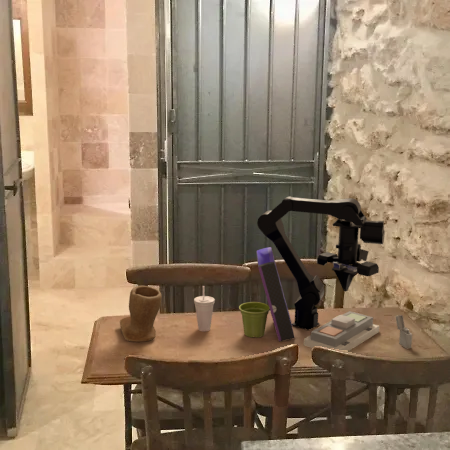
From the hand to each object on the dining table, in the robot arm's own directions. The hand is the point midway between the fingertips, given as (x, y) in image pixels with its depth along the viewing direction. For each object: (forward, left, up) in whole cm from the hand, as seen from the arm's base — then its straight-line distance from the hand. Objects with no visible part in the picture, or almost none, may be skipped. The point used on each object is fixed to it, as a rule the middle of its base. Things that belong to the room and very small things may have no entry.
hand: (345, 290), depth 201 cm
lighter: (+18, +3, -13) cm, 22 cm away
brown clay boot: (-45, -43, -13) cm, 63 cm away
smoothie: (-33, -27, -13) cm, 45 cm away
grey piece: (+3, -6, -13) cm, 14 cm away
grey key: (+3, -6, -9) cm, 11 cm away
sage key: (+3, +1, -11) cm, 11 cm away
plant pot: (-19, -20, -13) cm, 31 cm away
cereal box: (-14, -12, -12) cm, 22 cm away
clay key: (+3, -13, -11) cm, 17 cm away
